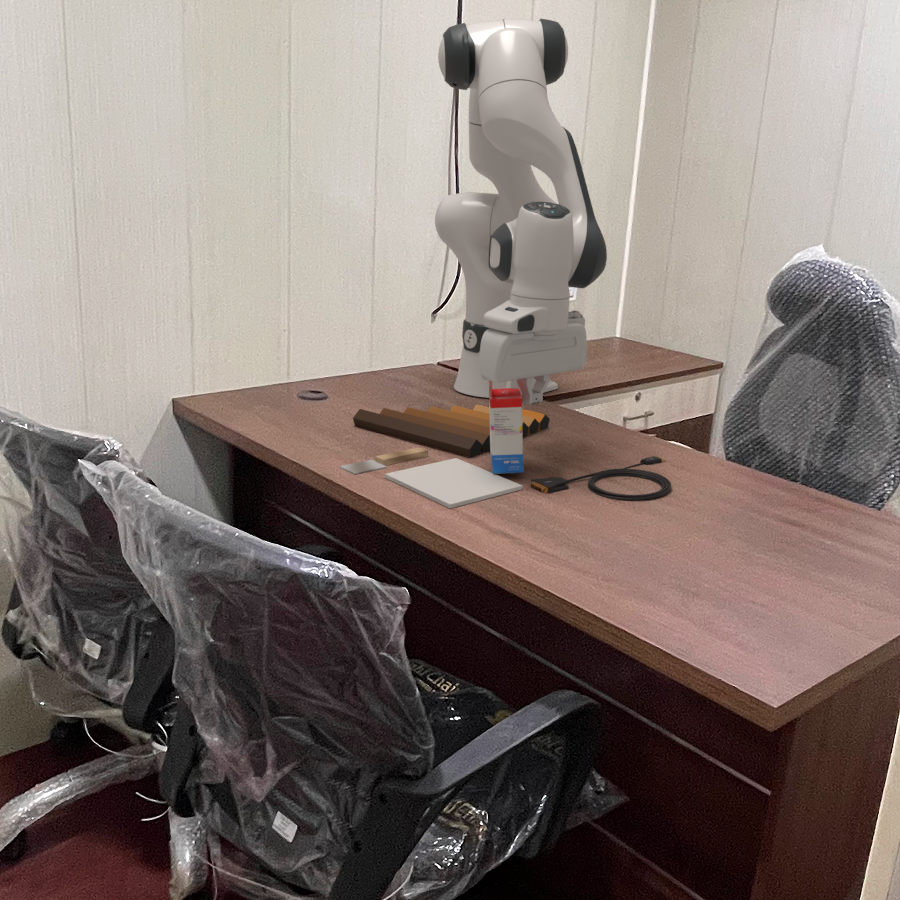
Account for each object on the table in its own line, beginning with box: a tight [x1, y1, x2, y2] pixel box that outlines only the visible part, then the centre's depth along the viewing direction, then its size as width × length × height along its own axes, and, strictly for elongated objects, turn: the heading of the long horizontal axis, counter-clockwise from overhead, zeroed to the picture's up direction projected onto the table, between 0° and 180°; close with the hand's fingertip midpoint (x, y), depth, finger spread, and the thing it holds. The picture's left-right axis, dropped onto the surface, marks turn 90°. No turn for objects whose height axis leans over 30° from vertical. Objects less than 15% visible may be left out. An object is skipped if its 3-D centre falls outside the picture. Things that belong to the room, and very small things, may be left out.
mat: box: [384, 457, 523, 509], centre depth 142 cm, size 14×15×1 cm
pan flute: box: [352, 403, 550, 459], centre depth 170 cm, size 25×3×25 cm
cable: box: [530, 455, 672, 502], centre depth 145 cm, size 14×28×2 cm, turn 126°
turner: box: [339, 446, 429, 476], centre depth 149 cm, size 15×4×1 cm, turn 130°
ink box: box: [488, 381, 525, 475], centre depth 147 cm, size 8×5×15 cm, turn 179°
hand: (531, 403), depth 148 cm, fingers closed
